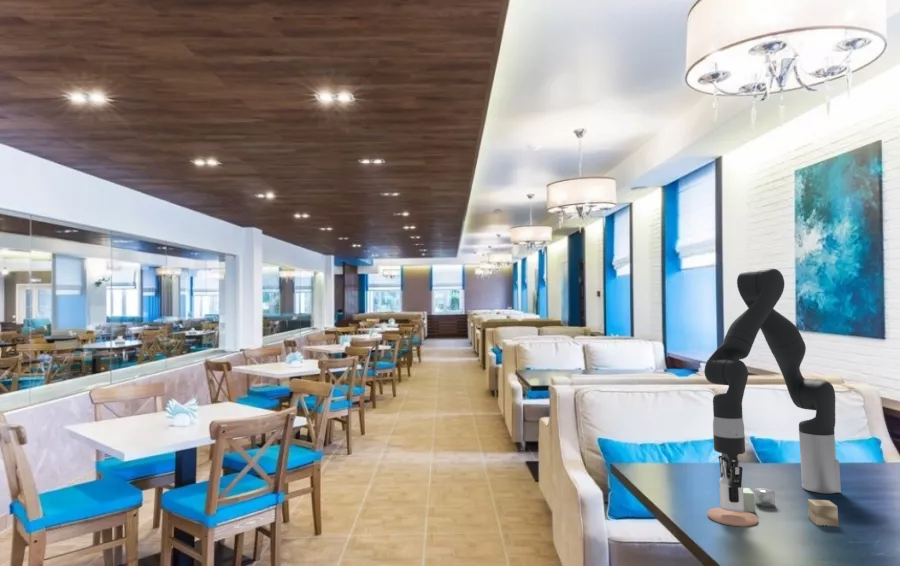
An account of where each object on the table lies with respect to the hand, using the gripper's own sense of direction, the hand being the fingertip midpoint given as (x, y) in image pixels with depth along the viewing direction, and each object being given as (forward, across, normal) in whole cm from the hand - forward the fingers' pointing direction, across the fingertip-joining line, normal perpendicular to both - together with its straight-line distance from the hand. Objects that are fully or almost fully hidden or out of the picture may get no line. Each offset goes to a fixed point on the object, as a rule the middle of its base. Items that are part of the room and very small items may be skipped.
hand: (731, 499), depth 148 cm
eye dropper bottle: (+3, 0, 0) cm, 3 cm away
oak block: (+5, +1, -22) cm, 23 cm away
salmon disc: (+5, 0, 0) cm, 5 cm away
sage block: (+5, +9, -5) cm, 11 cm away
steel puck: (+5, +13, -12) cm, 18 cm away
